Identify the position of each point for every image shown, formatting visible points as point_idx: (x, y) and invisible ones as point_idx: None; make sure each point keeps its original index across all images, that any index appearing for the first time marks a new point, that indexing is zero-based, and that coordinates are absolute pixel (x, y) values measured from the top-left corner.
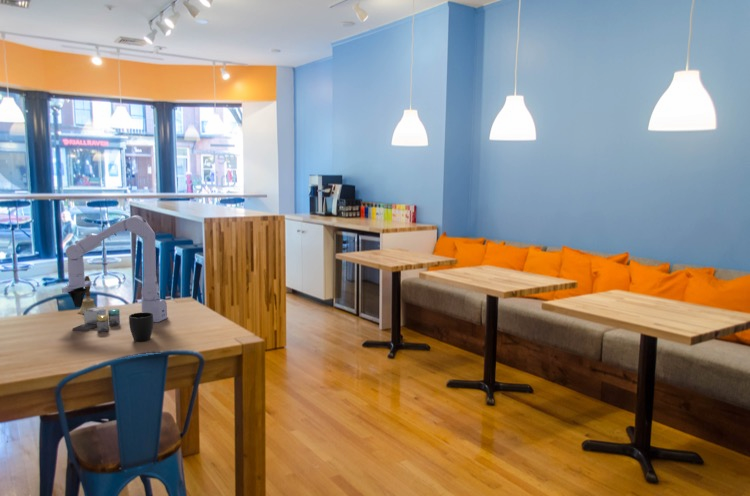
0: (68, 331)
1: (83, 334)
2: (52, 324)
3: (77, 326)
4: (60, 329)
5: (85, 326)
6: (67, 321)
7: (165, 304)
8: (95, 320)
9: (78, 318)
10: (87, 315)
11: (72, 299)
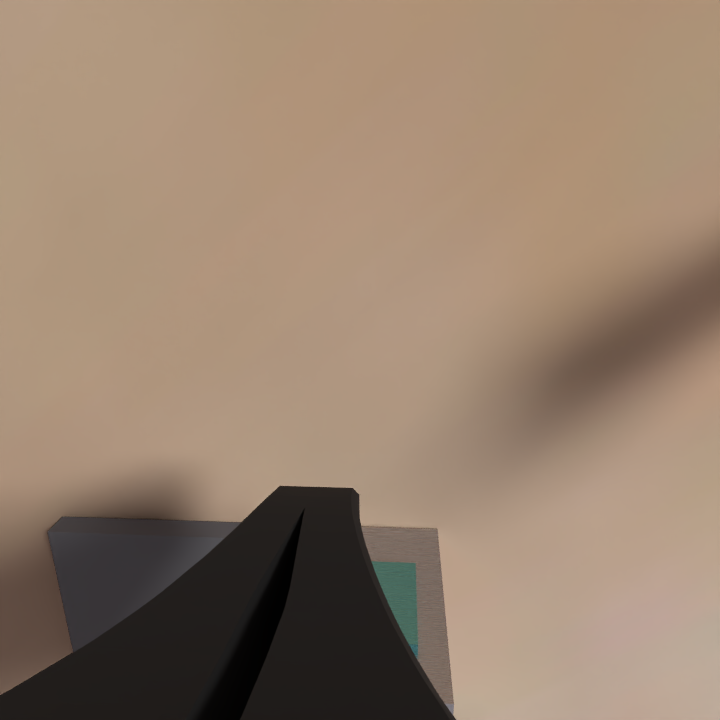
0: (10, 500)
1: (4, 692)
2: (169, 41)
3: (132, 537)
4: (27, 357)
5: None
6: (389, 152)
7: None
8: None
9: (594, 196)
10: None
11: (155, 602)
